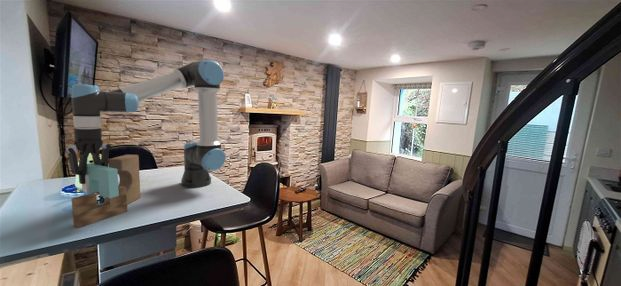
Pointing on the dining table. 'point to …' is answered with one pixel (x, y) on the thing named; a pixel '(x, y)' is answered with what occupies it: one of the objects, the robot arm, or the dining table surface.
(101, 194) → the teal board
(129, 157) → the decorative block
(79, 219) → the walnut board
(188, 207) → the dining table surface
